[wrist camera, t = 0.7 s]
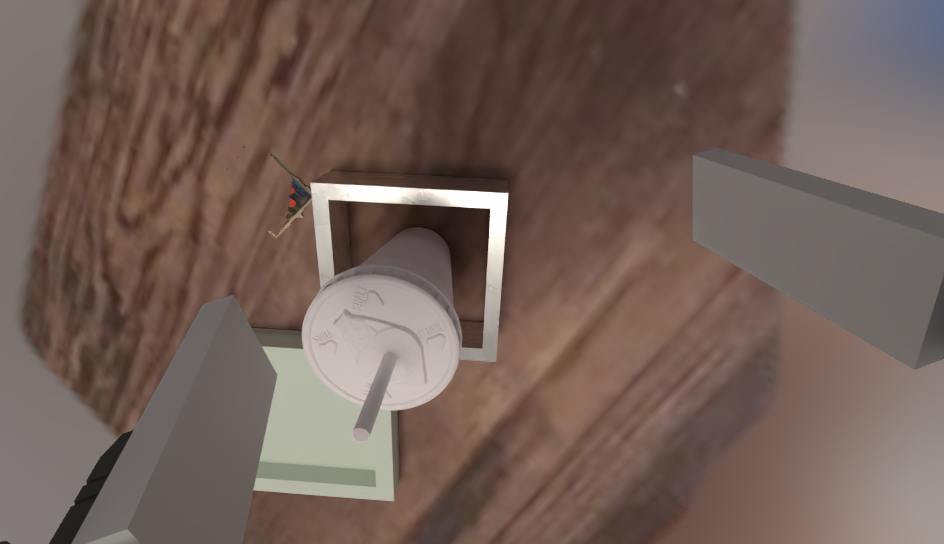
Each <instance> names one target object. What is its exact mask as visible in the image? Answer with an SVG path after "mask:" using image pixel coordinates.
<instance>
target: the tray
mask: <svg viewBox="0 0 944 544" xmlns="http://www.w3.org/2000/svg"><path fill="white" fill-rule="evenodd" d="M252 330H253V332H254V333H255V335H256V337H257V339H258V341H259V342H260V344H261V346H262V348H263V350H264V351H265V353H266V355H267V357H268V359H269V360H270V362H271V364H272V366H273V368H274V369H275V371H276V373H277V380H276V385H275V390H274V394H273V399H272V404H271V408H270V413H269V418H268V423H267V427H266V432H265V437H264V442H263V446H262V451H261V456H260V461H259V465H258V470H257V475H256V479H255V484H254V489H253V490H258V491H270V492H283V493H296V494H308V495H321V496H334V497H346V498H359V499H372V500H384V501H394V499H395V495H396V491H397V487H398V483H399V479H400V468H399V433H398V410H396V411H384V410H379V412H378V415H377V418H376V420H375V423H374V426H373V429H372V432H371V434H370V437H369V439H368V440H367V441H366V442H358V441H356V440H355V439H354V438H353V437H352V432H353V429H354V427H355V424H356V422H357V420H358V417H359V415H360V412H361V410H362V406H359V405H356V404H354V403H351V402H349V401H347V400H345V399H343V398H342V397H340V396H338V395H337V394H335V393H334V392H333V391H331V390H330V389H329V388H328V387H327V386H326V385H324V384H323V383H322V381H321V380H320V379H319V378H318V377H317V376H316V374H315V373H314V371H313V370H312V368H311V367H310V365H309V363H308V361H307V358H306V356H305V352H304V349H303V343H302V331H295V330H280V329H265V328H252Z"/></svg>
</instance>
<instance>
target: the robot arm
mask: <svg viewBox="0 0 944 544" xmlns="http://www.w3.org/2000/svg"><path fill="white" fill-rule="evenodd" d="M692 240H693V241H695V242H696V243H698V244H700V245H701V246H703V247H705V248H707V249H708V250H710V251H712V252H713V253H715V254H717V255H719V256H720V257H722V258H724V259H725V260H727V261H729V262H731V263H732V264H734V265H736V266H737V267H739V268H741V269H743V270H744V271H746V272H748V273H749V274H751V275H753V276H755V277H756V278H758V279H760V280H761V281H763V282H765V283H767V284H768V285H770V286H772V287H773V288H775V289H777V290H779V291H780V292H782V293H784V294H786V295H787V296H789V297H791V298H793V299H794V300H796V301H798V302H799V303H801V304H803V305H804V306H806V307H808V308H810V309H811V310H813V311H815V312H817V313H818V314H820V315H822V316H824V317H825V318H827V319H828V320H830V321H832V322H834V323H835V324H837V325H839V326H840V327H842V328H844V329H846V330H847V331H849V332H851V333H852V334H854V335H856V336H858V337H859V338H861V339H863V340H864V341H866V342H868V343H870V344H871V345H873V346H875V347H877V348H878V349H880V350H882V351H883V352H885V353H887V354H888V355H890V356H892V357H894V358H895V359H897V360H899V361H900V362H902V363H904V364H906V365H907V366H909V367H911V368H913V369H914V370H915V369H918V368H921V367H923V366H926V365H929V364H931V363H934V362H936V361H939V360H942V359H944V214H942V213H939V212H936V211H932V210H928V209H925V208H922V207H918V206H915V205H912V204H908V203H905V202H901V201H898V200H895V199H891V198H888V197H884V196H881V195H877V194H874V193H870V192H867V191H864V190H860V189H857V188H853V187H850V186H846V185H843V184H840V183H836V182H833V181H830V180H826V179H823V178H819V177H816V176H813V175H809V174H806V173H802V172H799V171H795V170H792V169H789V168H785V167H782V166H778V165H775V164H772V163H768V162H765V161H761V160H758V159H754V158H751V157H748V156H744V155H741V154H737V153H734V152H731V151H727V150H724V149H720V148H713V149H710V150H707V151H704V152H700V153H697V154H694V155H693V191H692ZM276 380H277V373H276V371H275V369H274V368H273V366H272V364H271V362H270V360H269V359H268V357H267V355H266V353H265V351H264V350H263V348H262V346H261V344H260V342H259V341H258V339H257V337H256V335H255V333H254V332H253V330H252V328H251V326H250V324H249V323H248V321H247V319H246V317H245V315H244V314H243V312H242V310H241V308H240V307H239V305H238V303H237V301H236V299H235V298H234V296H233V295H231V296H228V297H225V298H221V299H218V300H215V301H212V302H208V303H205V304H203V305H202V307H201V309H200V311H199V312H198V314H197V316H196V318H195V320H194V322H193V323H192V325H191V327H190V329H189V331H188V332H187V334H186V336H185V338H184V340H183V342H182V343H181V345H180V347H179V349H178V351H177V352H176V354H175V356H174V358H173V360H172V362H171V363H170V365H169V367H168V369H167V371H166V372H165V374H164V376H163V378H162V380H161V382H160V383H159V385H158V387H157V389H156V391H155V393H154V394H153V396H152V398H151V400H150V402H149V403H148V405H147V407H146V409H145V411H144V413H143V414H142V416H141V418H140V420H139V422H138V423H137V425H136V427H135V429H134V430H133V431H130V432H127V433H124V434H122V435H121V436H120V437H119V438H118V439H117V440H116V442H115V443H114V444H113V445H112V446H111V447H110V448H109V449H108V450H107V451H106V452H105V453H104V454H103V455H102V456H101V457H100V459H99V460H98V462H97V464H96V465H95V467H94V469H93V471H92V473H91V474H90V476H89V477H88V479H87V485H85V486H83V487H82V489H81V491H80V492H79V494H78V496H77V497H76V499H75V501H74V502H75V505H74V506H72V507H71V508H70V509H69V511H68V513H67V514H66V516H65V518H64V519H63V521H62V523H61V524H60V526H59V528H58V530H57V531H56V533H55V535H54V537H53V538H52V540H51V541H50V543H49V544H242V541H243V536H244V532H245V527H246V522H247V517H248V513H249V508H250V503H251V498H252V494H253V489H254V484H255V479H256V475H257V470H258V465H259V461H260V456H261V451H262V446H263V442H264V437H265V432H266V427H267V423H268V418H269V413H270V408H271V404H272V399H273V394H274V390H275V385H276ZM0 544H10V543H9V542H7V541H3V542H0Z"/></svg>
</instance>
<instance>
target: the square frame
mask: <svg viewBox="0 0 944 544" xmlns="http://www.w3.org/2000/svg"><path fill="white" fill-rule="evenodd" d="M310 184H311V194H312V204H313V214H314V225H315V235H316V245H317V255H318V265H319V275H320V286H321V287H323V286H324V285H325V284H326V283H327V282H328V281H330V280H331V279H332V278H333V277H334V276H336V275H338V274H340V273H342V272H344V271H347V270H349V269H351V268H352V261H351V246H350V231H349V216H348V201H360V202H378V203H396V204H414V205H432V206H451V207H469V208H487V209H491V211H490V228H489V245H488V262H487V279H486V296H485V314H484V322H478V321H462V320H459V321H460V326H461V331H462V335H463V336H462V347H461V354H460V357H459V359H461V360H476V361H491V362H496V355H497V342H498V328H499V314H500V300H501V287H502V273H503V259H504V245H505V232H506V218H507V204H508V180H504V179H486V178H467V177H448V176H429V175H410V174H391V173H372V172H354V171H335V170H331V171H329V172H327V173H326V174H324V175H322V176H321V177H319V178H317V179H316V180H314V181H312V182H311V183H310Z"/></svg>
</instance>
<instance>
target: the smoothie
mask: <svg viewBox="0 0 944 544" xmlns="http://www.w3.org/2000/svg"><path fill="white" fill-rule="evenodd" d="M462 336H463V335H462V331H461V326H460V321H459V317H458V315H457V313H456V312H455V310H454V307H453V289H452V271H451V255H450V250H449V248H448V245H447V244H446V242H445V241H444V239H443V238H442V237H441V236H440V235H438V234H437V233H436V232H434V231H432V230H430V229H427V228H422V227H413V228H408V229H405V230H403V231H401V232H400V233H398V234H397V235H396V236H395V237H393V238H392V239H391V240H390V241H389V242H387V243H386V244H385V245H384V246H382V247H381V248H380V249H379V250H378V251H376V252H375V253H374V254H373V255H372V256H370V257H369V258H368V259H367V260H366V261H364V262H363V263H362V264H361V265H360V266H358V267H354V268H351V269H349V270H347V271H344V272H342V273H340V274H338V275H336V276H334V277H333V278H332V279H331V280H330V281H328V282H327V283H326V284H325V285H324V286H323V287H321V289H320V291H319V292H318V294H317V295H316V297H315V299H314V300H313V302H312V303H311V305H310V307H309V308H308V310H307V313H306V315H305V318H304V321H303V327H302V343H303V349H304V352H305V356H306V358H307V361H308V363H309V365H310V367H311V368H312V370H313V371H314V373H315V374H316V376H317V377H318V378H319V379H320V380H321V381H322V383H323V384H324V385H326V386H327V387H328V388H329V389H330V390H331V391H333V392H334V393H335V394H337V395H338V396H340V397H342V398H343V399H345V400H347V401H349V402H351V403H354V404H356V405H359V406H362V410H361V412H360V415H359V417H358V420H357V422H356V424H355V427H354V429H353V432H352V437H353V438H354V439H355V440H356V441H358V442H366V441H367V440H368V439H369V437H370V434H371V432H372V429H373V426H374V423H375V420H376V418H377V415H378V412H379V410H384V411H396V410H404V409H409V408H413V407H416V406H419V405H421V404H424V403H426V402H428V401H430V400H431V399H433V398H434V397H436V396H437V395H438V394H439V393H441V392H442V391H443V390H444V389H445V387H446V386H447V385H448V384H449V382H450V381H451V379H452V377H453V375H454V373H455V371H456V368H457V365H458V360H459V357H460V354H461V347H462Z"/></svg>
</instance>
